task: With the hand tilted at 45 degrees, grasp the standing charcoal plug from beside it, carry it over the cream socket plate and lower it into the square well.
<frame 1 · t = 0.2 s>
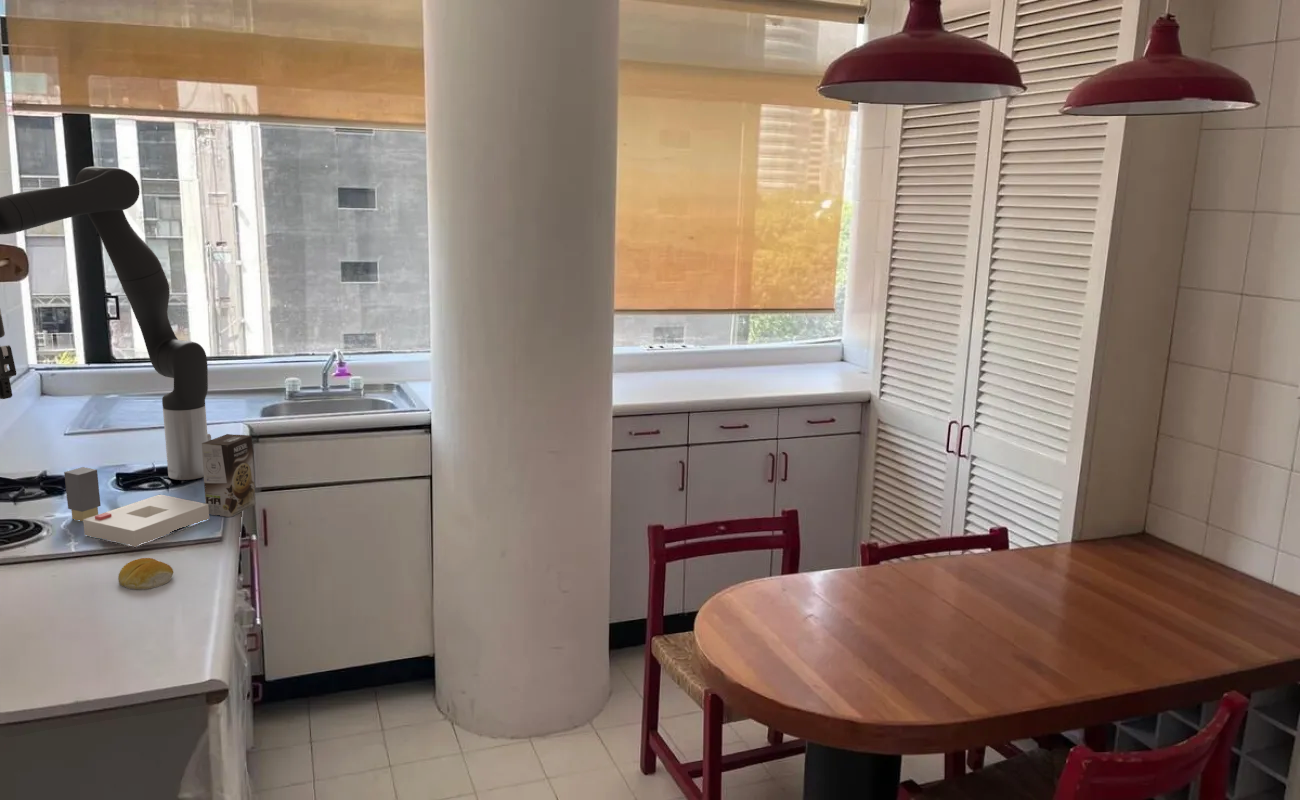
plug: (85, 518, 198), on the kitchen counter
coffee box: (231, 510, 206), on the kitchen counter
socket plate: (148, 527, 194), on the kitchen counter
bread roll: (146, 582, 169), on the kitchen counter
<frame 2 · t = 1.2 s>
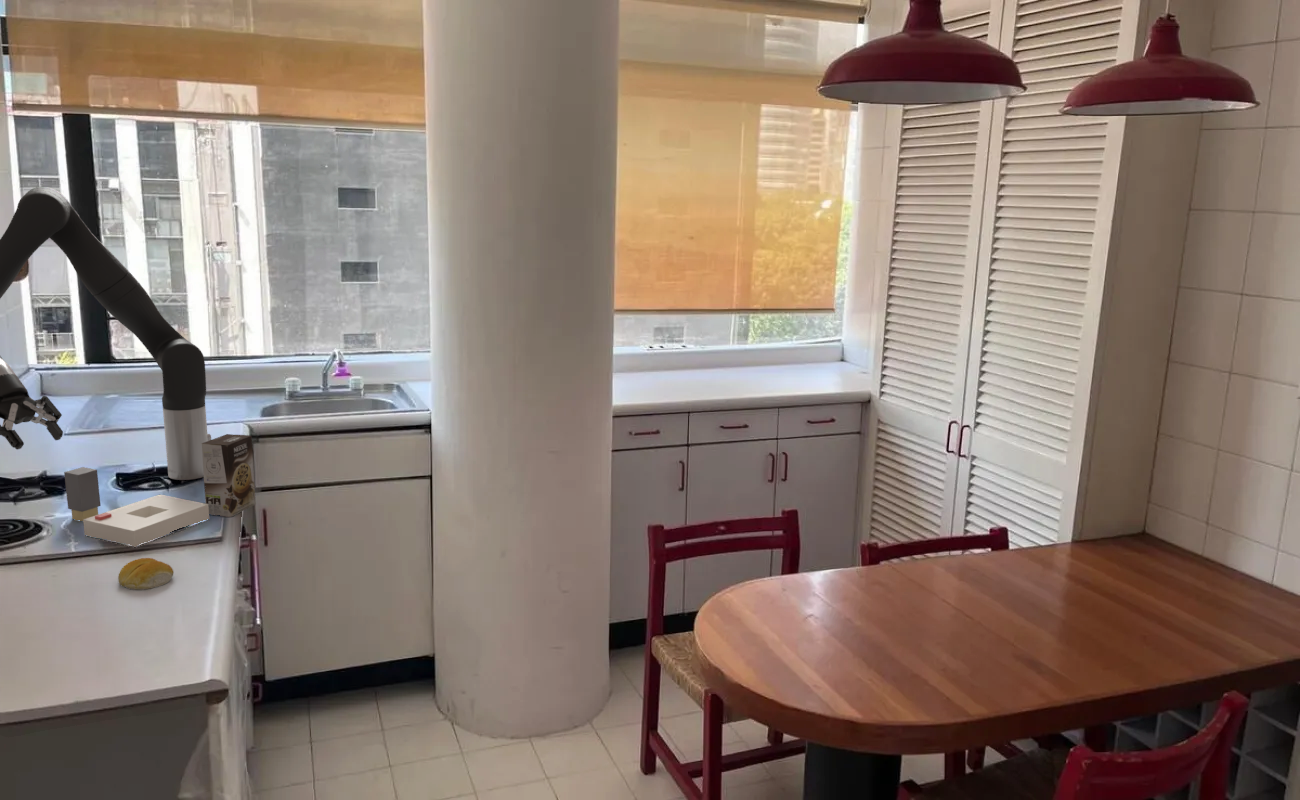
hand: (40, 442, 199), 15 cm above the kitchen counter, tool tilted 45°, fingers open, 8 cm apart
nothing on the kitchen counter moved.
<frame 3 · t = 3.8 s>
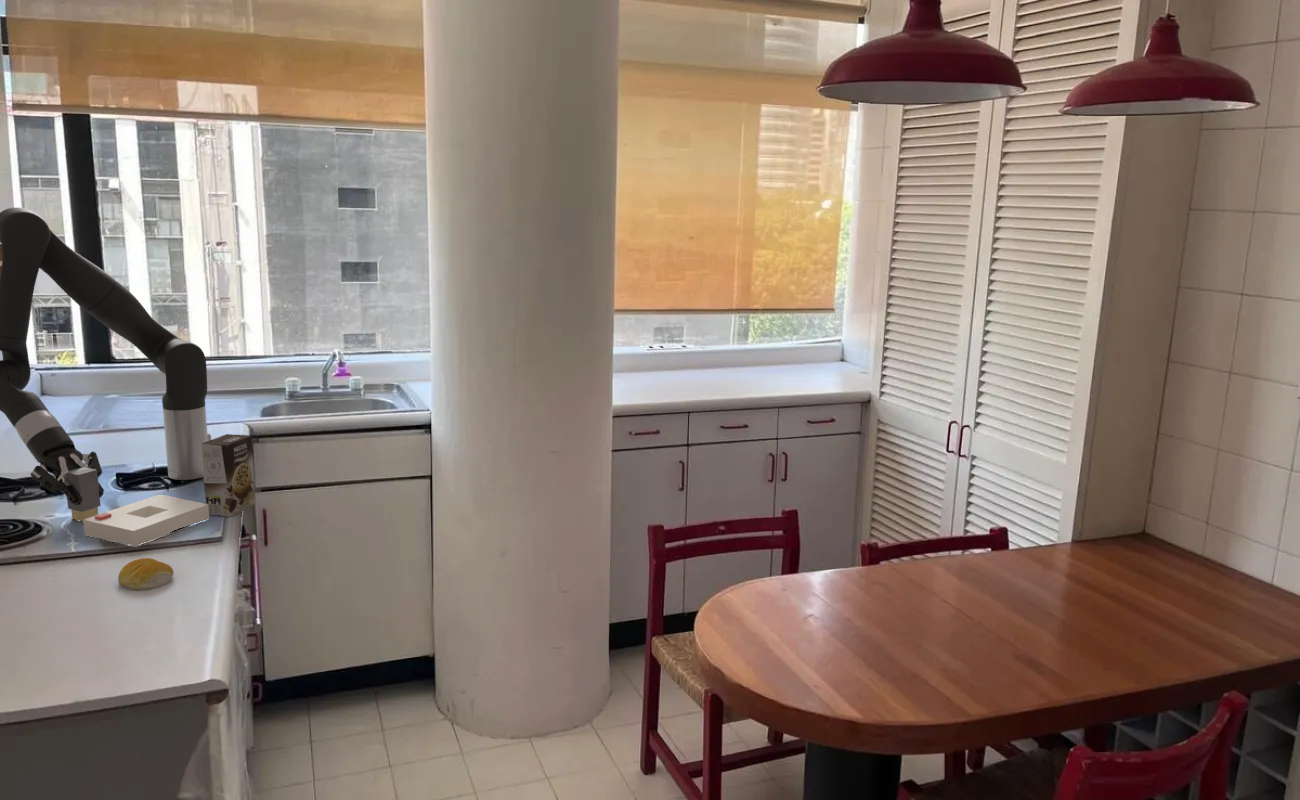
hand: (90, 499, 196), 5 cm above the kitchen counter, tool tilted 45°, fingers closed on plug, 4 cm apart
plug: (85, 518, 198), on the kitchen counter, touching gripper
everything else where it was.
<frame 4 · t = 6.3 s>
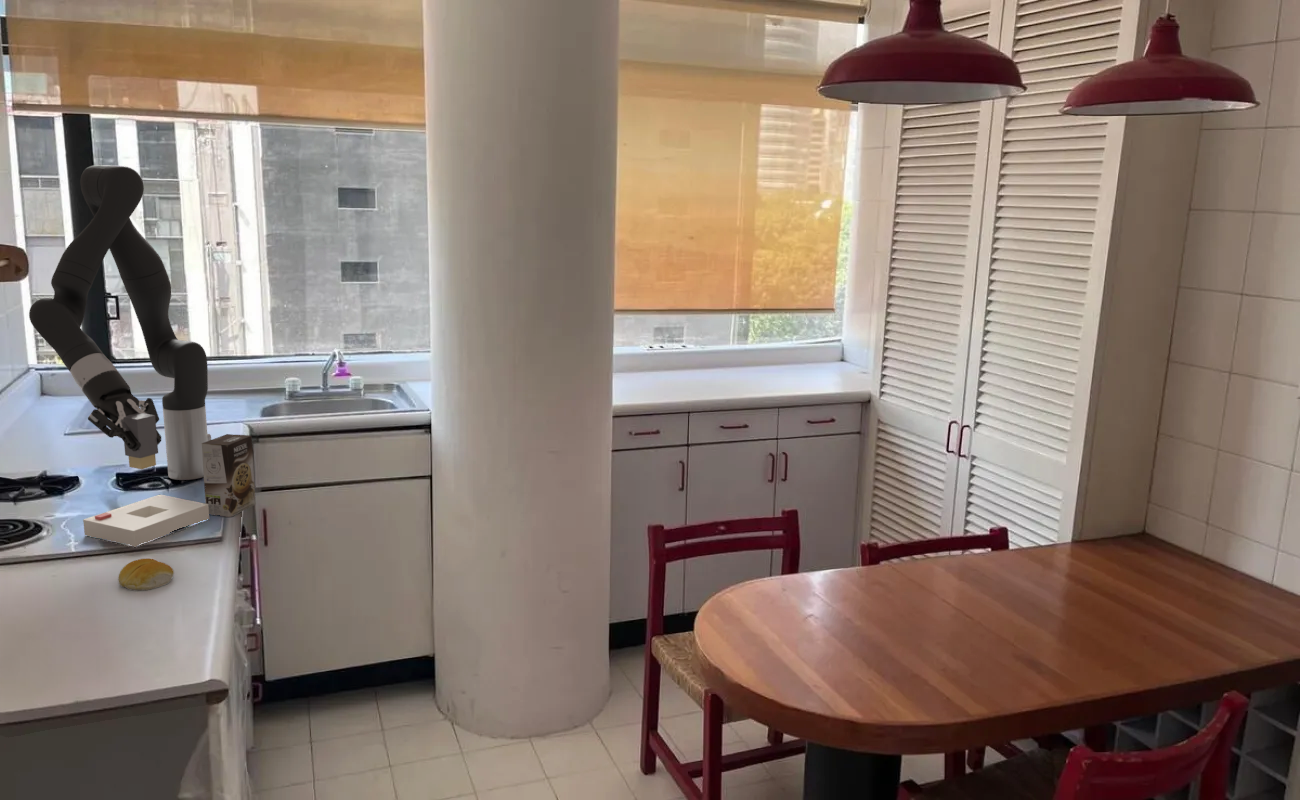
hand: (147, 445, 189), 18 cm above the kitchen counter, tool tilted 45°, fingers closed on plug, 4 cm apart
plug: (142, 466, 191), point 13 cm above the kitchen counter, touching gripper
everything else where it was.
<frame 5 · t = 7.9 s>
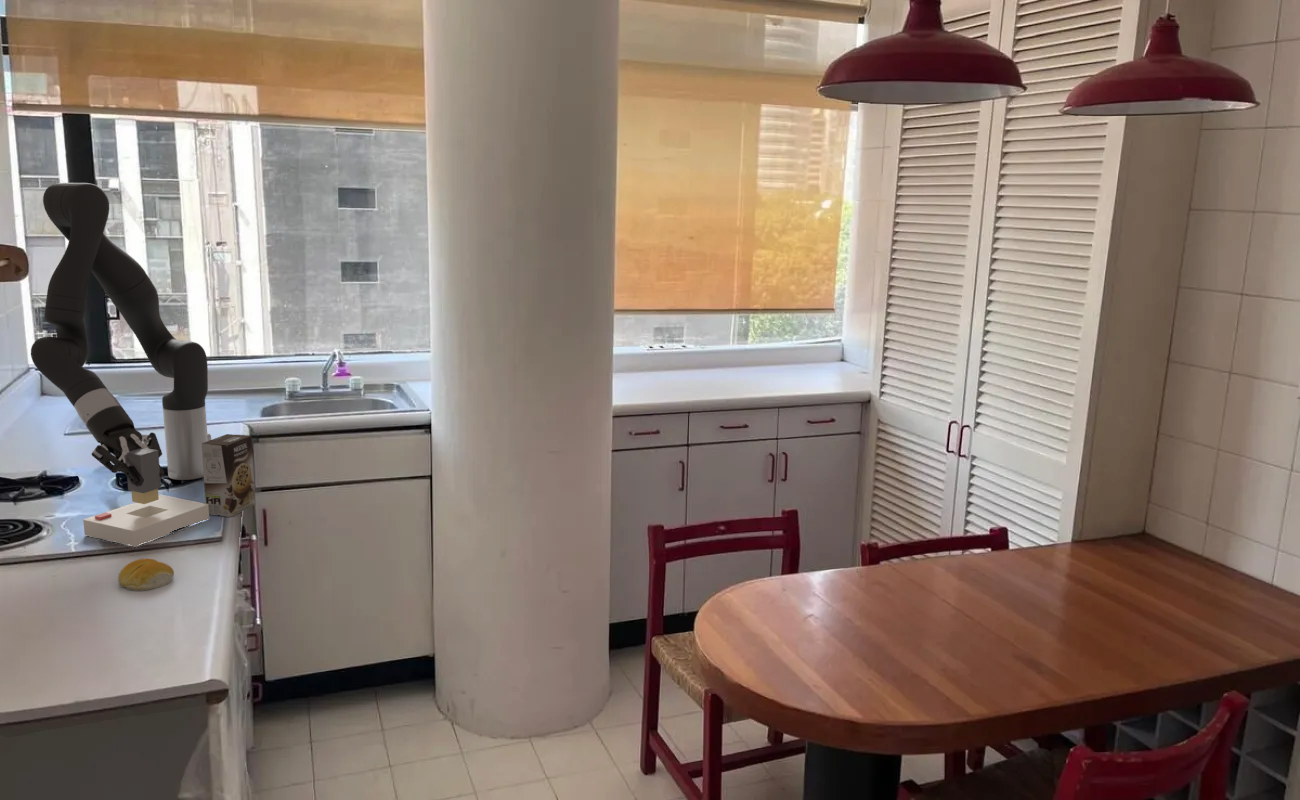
hand: (150, 480, 191), 11 cm above the kitchen counter, tool tilted 45°, fingers closed on plug, 4 cm apart
plug: (145, 500, 192), point 6 cm above the kitchen counter, touching gripper
everything else where it was.
when the fingers open (7 cm above the kitchen counter, at t = 9.2 s): plug drops 2 cm, resting on socket plate.
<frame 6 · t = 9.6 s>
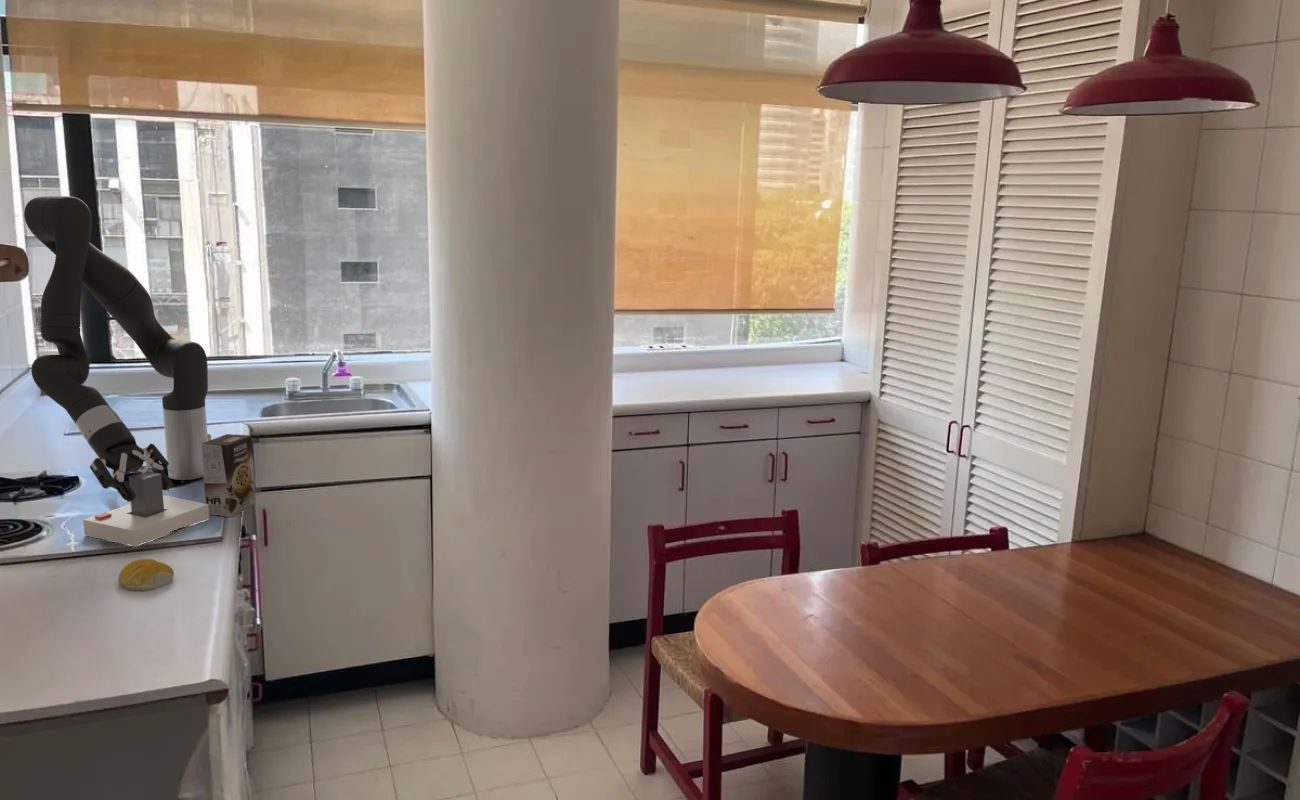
hand: (150, 493, 192), 8 cm above the kitchen counter, tool tilted 45°, fingers open, 8 cm apart
plug: (149, 523, 194), point 1 cm above the kitchen counter, touching socket plate
everything else where it was.
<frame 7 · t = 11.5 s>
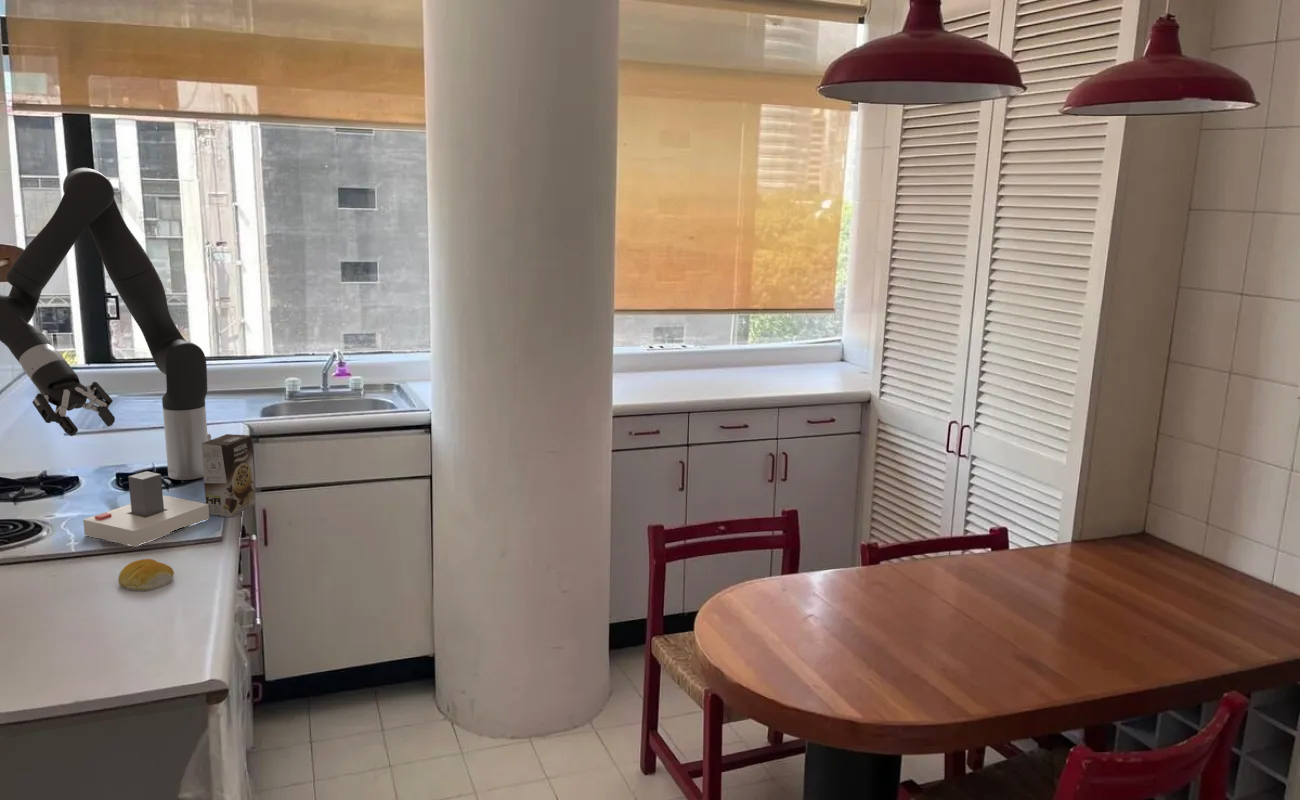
hand: (93, 428, 197), 19 cm above the kitchen counter, tool tilted 45°, fingers open, 8 cm apart
nothing on the kitchen counter moved.
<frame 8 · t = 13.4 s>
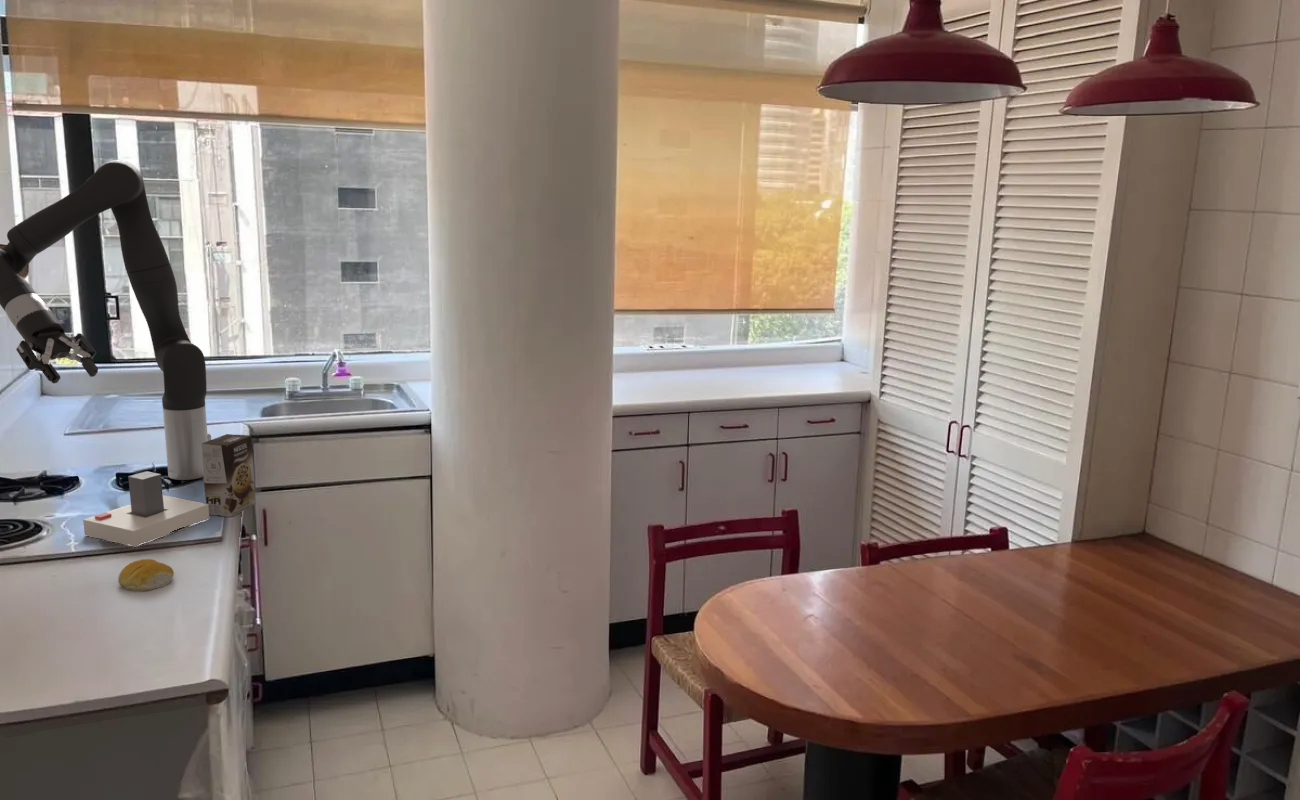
hand: (76, 377, 199), 29 cm above the kitchen counter, tool tilted 45°, fingers open, 8 cm apart
nothing on the kitchen counter moved.
at the end: plug 0.1 cm off-centre on the socket plate, point 0.8 cm above the socket plate's base; plug tilted 0°; the gripper is holding nothing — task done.
